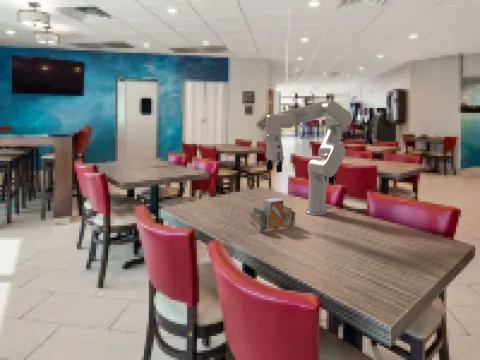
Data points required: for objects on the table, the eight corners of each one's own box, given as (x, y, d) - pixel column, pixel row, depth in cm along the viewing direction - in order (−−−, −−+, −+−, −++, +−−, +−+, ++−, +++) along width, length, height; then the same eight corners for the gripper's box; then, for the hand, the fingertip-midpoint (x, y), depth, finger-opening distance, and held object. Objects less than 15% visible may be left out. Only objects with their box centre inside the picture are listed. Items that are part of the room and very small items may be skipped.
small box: (270, 227, 187) (270, 202, 185) (262, 224, 192) (263, 199, 190) (283, 225, 191) (283, 200, 189) (275, 222, 196) (276, 197, 194)
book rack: (284, 222, 200) (285, 203, 198) (294, 227, 191) (295, 207, 189) (250, 227, 192) (250, 207, 191) (259, 232, 183) (259, 212, 181)
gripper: (289, 139, 191) (289, 172, 194) (271, 137, 207) (272, 168, 210) (276, 140, 188) (276, 174, 191) (259, 138, 203) (260, 169, 206)
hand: (274, 171), depth 200 cm, fingers open, 9 cm apart
